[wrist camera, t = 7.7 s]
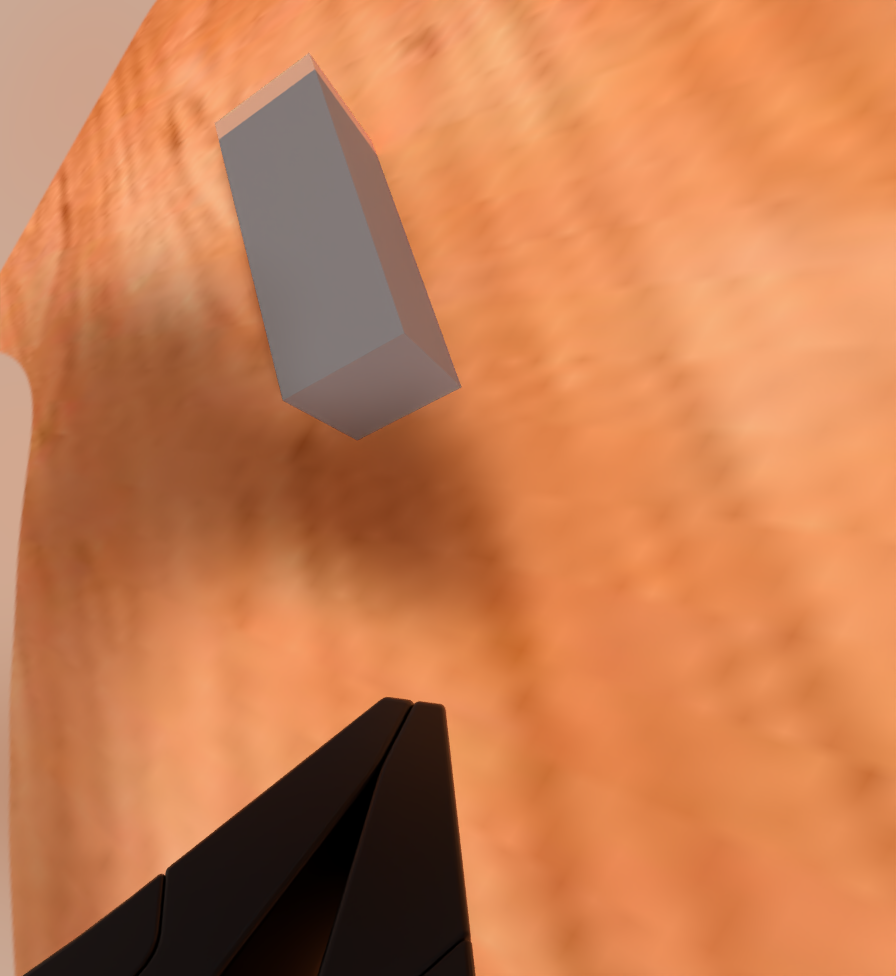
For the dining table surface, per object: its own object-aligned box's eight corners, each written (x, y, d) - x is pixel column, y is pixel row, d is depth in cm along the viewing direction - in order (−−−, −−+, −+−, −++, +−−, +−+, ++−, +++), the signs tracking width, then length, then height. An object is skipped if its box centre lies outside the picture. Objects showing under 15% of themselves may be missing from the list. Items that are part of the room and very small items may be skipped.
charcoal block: (404, 333, 20) (309, 52, 25) (282, 400, 22) (214, 123, 27) (461, 387, 25) (371, 140, 30) (357, 440, 26) (287, 196, 31)
